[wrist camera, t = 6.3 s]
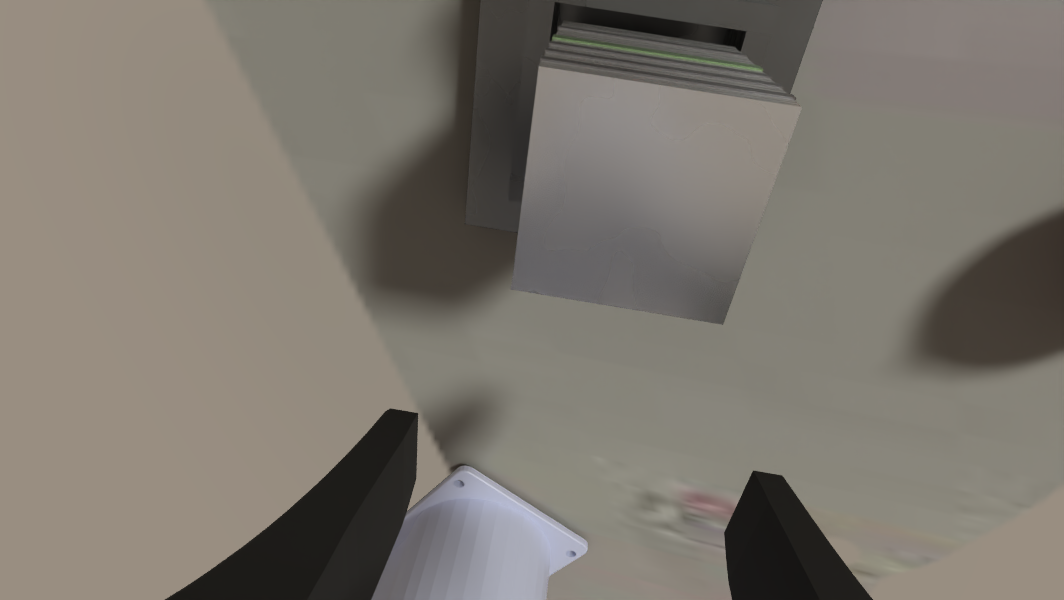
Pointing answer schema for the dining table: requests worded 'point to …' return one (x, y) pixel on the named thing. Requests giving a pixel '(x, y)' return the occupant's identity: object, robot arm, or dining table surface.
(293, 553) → the robot arm
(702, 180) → the column
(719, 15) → the jack base
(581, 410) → the dining table surface
